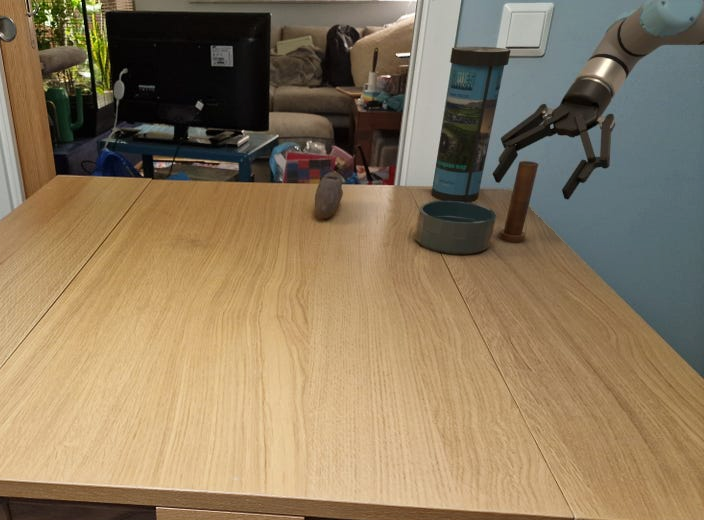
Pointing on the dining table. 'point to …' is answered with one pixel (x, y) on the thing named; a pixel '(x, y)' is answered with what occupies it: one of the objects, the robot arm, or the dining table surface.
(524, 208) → the muddler
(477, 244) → the bowl
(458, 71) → the advertising column
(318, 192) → the perforated stone tool
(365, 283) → the dining table surface
